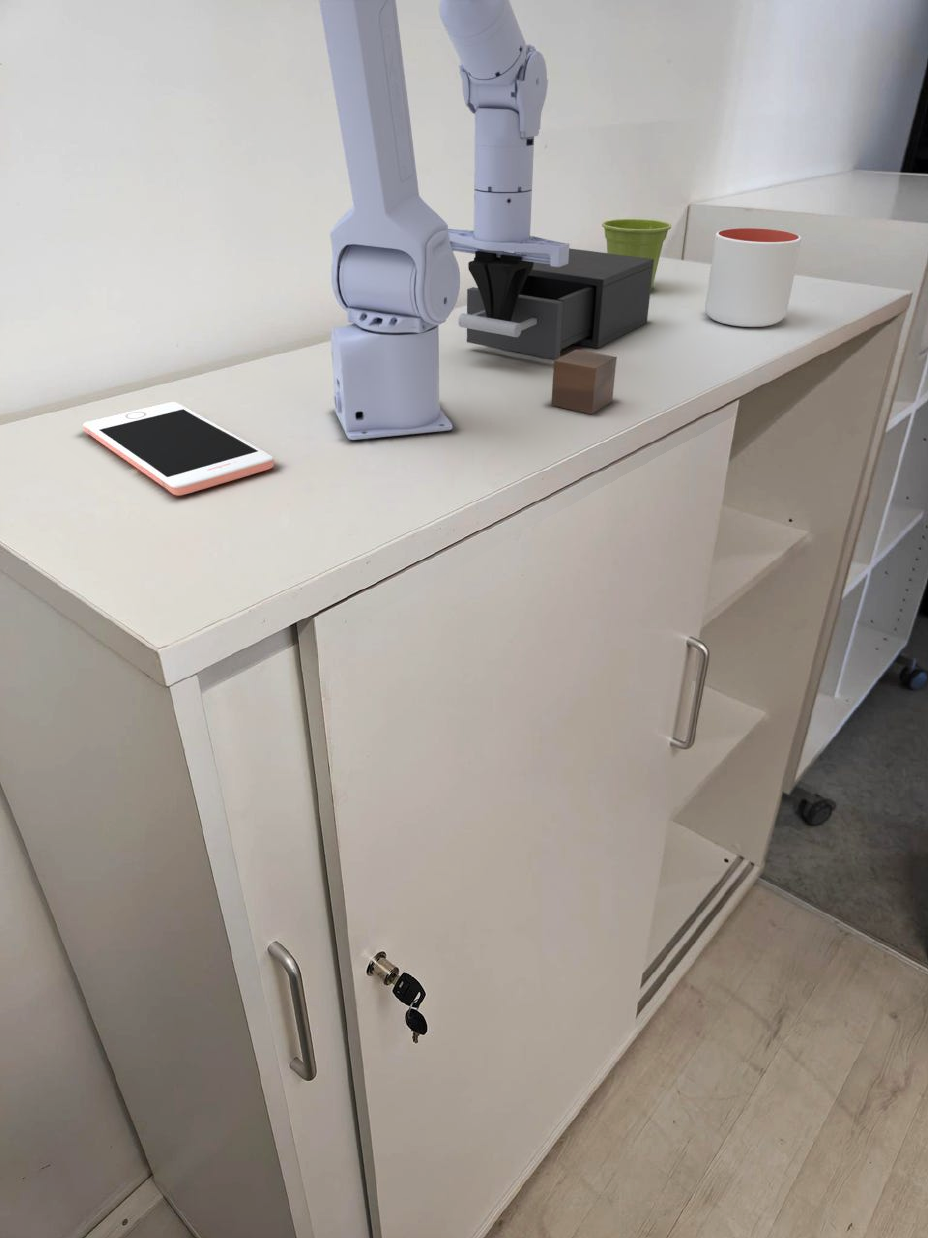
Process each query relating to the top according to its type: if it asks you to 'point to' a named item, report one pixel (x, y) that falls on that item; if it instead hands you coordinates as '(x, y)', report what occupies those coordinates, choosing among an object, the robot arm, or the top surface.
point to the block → (583, 381)
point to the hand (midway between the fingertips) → (499, 329)
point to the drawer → (535, 318)
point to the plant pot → (636, 238)
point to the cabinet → (607, 290)
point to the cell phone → (178, 447)
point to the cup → (751, 276)
